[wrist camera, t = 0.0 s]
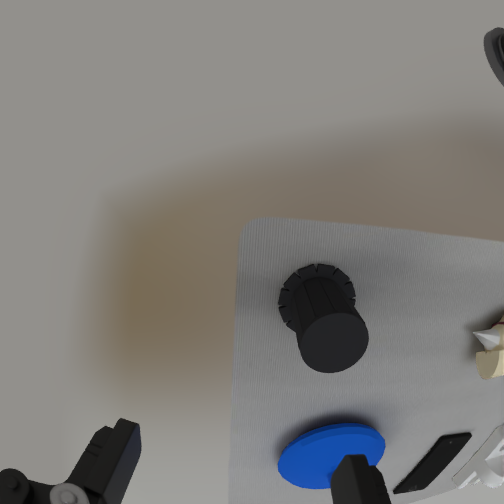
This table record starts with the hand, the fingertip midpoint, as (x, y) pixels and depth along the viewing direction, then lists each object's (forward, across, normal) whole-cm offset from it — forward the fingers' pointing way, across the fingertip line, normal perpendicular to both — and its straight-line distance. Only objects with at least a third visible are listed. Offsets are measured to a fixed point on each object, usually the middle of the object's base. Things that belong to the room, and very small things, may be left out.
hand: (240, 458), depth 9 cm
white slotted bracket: (+22, -60, +34) cm, 72 cm away
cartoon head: (+22, -38, +2) cm, 44 cm away
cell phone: (+22, -41, +32) cm, 57 cm away
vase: (+22, -16, +24) cm, 36 cm away
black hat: (+22, -7, +1) cm, 23 cm away
